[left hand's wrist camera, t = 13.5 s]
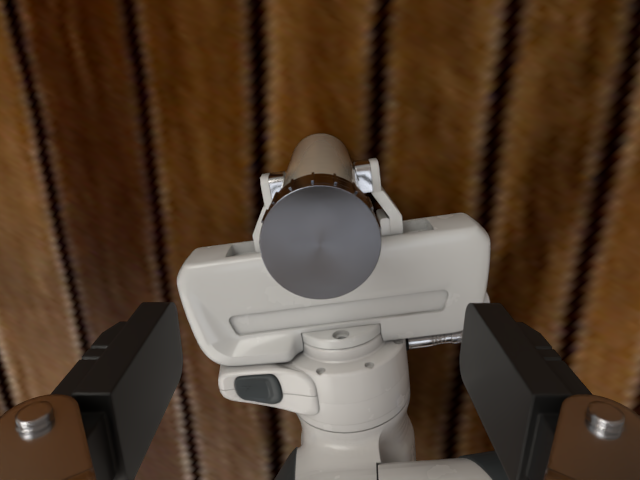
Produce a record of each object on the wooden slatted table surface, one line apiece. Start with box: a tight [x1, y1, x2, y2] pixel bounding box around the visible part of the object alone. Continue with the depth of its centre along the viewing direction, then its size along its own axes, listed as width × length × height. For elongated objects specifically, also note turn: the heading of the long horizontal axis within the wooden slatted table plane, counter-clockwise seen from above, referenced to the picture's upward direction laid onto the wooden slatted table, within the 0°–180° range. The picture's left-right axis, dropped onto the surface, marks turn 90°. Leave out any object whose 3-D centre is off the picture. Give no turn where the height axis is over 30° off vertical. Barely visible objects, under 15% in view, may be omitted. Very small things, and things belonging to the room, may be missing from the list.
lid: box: [259, 172, 382, 299], centre depth 19 cm, size 5×5×2 cm
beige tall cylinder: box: [280, 134, 362, 191], centre depth 26 cm, size 4×4×17 cm
